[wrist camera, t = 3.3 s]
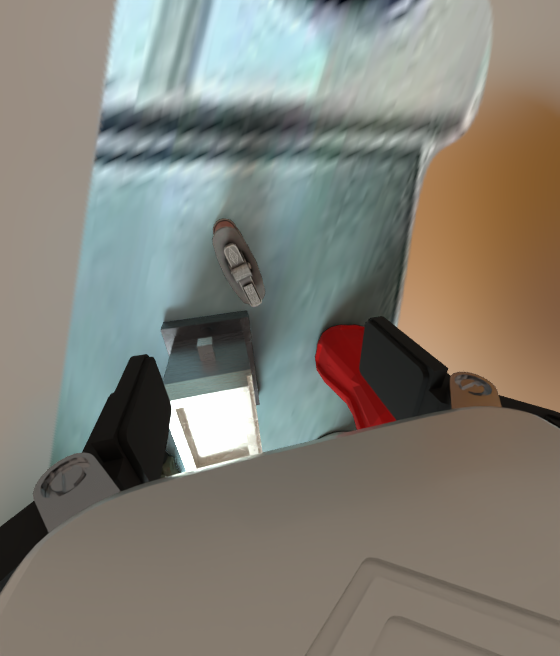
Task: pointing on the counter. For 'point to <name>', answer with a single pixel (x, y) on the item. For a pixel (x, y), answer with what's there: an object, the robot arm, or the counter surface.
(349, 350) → the water bottle
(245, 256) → the lighter
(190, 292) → the counter surface
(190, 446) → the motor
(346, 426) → the counter surface
